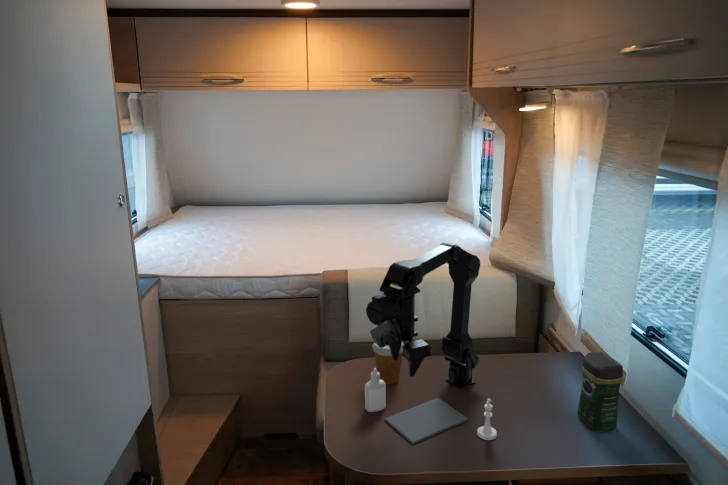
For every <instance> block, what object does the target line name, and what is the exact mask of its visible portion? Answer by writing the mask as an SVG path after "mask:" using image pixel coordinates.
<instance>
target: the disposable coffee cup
mask: <svg viewBox="0 0 728 485" xmlns="http://www.w3.org/2000/svg"><path fill="white" fill-rule="evenodd" d="M404 345H405V343H404V342H402V344H401V348H400V352H399V356H398V359H397V360H396V361H394V360H393V358H392V355H391V352H390V348H389V346H385V347H383V348H380V347H379V346H378V345H377V344H376V343H374V342H373V344H372V347H371V348H372V351H373V352H374V353H373V354H374V359H375V366H376V367H375V368H376V369H377V372H379V373H380V379H381V380H383V381H384V382H385V384H386V385H393V384H396V383H397V382H399V380H400V373H401V368H402V367H401V366H402V361H403V360H402V359H403V354H404V353H403V346H404Z"/></svg>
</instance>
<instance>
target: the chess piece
mask: <svg viewBox="0 0 728 485" xmlns="http://www.w3.org/2000/svg"><path fill="white" fill-rule="evenodd" d="M491 402H492V399H491V398H489V397H488V398H487V401H486V402H485V403H484V409H485V410H484V412H483V416H484V417H485V421H484V424H483V425H482V426H479V427H478V428H477V430H476V434H477V436H478V437H479V438H480V439H482V440H485V441H492V440H495V439H496V438H497V437H498V432H497V430H496V429H495V428H494V427H492V425H491V417H493V413H492V409H493V407H494V406H493V405H492V404H491Z"/></svg>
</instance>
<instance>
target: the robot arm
mask: <svg viewBox="0 0 728 485" xmlns="http://www.w3.org/2000/svg"><path fill="white" fill-rule="evenodd" d="M445 264H447V265H448V275H449V276H450V278H451V280H452V282H453V288H452V289H453V290H452V305H451V315H450V316H451V317H450V331H449V332H448V334H447V335H446V336H444V337H442V341H441V342H442V344H441V345H442V346H441V349H440V350H441V351H442V355H443V356H444V360H445V361H448V362H449V368H448V376H446V377H445V380H446V382H448V383H451V385H453V386H455V387H456V388H458V389H463V388H466V387H467V386H470V385H473V384H475V383H476V380H475V378H473V369H476V366H477V365H478V364H479V360H480V357H479V356H478V355H477V354H476V353H475V351H474V350H473V349H474V347H473V346H474V345H473V343H474V342H473V341H472V338H471V336H470V333H469V324H470V322H469V321H470V310H471V297H472V284H474V282H475V281H476V279H477V278H478V277H479V273H480V268H481V260H480V258H479V257H478V256H477V255H475V254H472V253H471V252H468V251H467V250H465V249H463V248H462V247H461V246H459V245H458V244H457V243H456V244H455V243H451V242H448V241H447V242H446V241H444V242H441V243H440V244H439V245H438V246H436V247H435V248H433V249H431V250H429V251H427V252H424V253H422V254H421V255H419V256H417V257H415V258H413V259H404V260H399V261H396V262H393V263H391V264H390V266H389V268H388V269H387V271H386V274H385V276H384V278H383V281H382V283H381V285H380V287H379V292H381V293H380V294H377V295H373V296H372V297H371V301H369V302H368V303H367V305H366V308H365V313H366V316H367V319H368V320H369V322H371V324H373V325H376V327H374V328H373V329H371V330H370V332H369V333H370V335H371V337H372V340H373V344H374V343H376V344H377V345H378V346H379V347H380V348H383V347H385V346H389V348H390V352H391V355H392V358H393V360H394V361H396V360H397V359H398V356H399V352H400V348H401V344H402V342H403V344H404V346H403V354H402V357H404V358H405V359H406V361H407V366H408V375H409V377H415V375H416V373H417V371H418V370H419V368H420V367H421V364H422V363H423V361H424V359H425V358H427V357H431V355H432V352H433V351H432V346H431V345H430V344H428V343H427V342H426V341H425V340H423V339H422V338H421V339H414V337H415V338H416V337H418V335H419V332H418V331H417V330H416V329H415V328H416V327H415V325H416V324H415V322H418V321H419V317H418V316H417V315H415V306H416V305H415V297H416V296H415V295H416V294H419V293H421V291H422V290H421V289H420V288H419V287H418V286H419V285H420V284H421V283H422V282H423V280H424V277H425V276H426V275H428V274H429V273H431V272H433V271H436V269H438V268H441V267H442V266H443V265H445ZM391 285H392V286H391ZM397 287H399V288H397Z"/></svg>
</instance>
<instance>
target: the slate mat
mask: <svg viewBox="0 0 728 485" xmlns="http://www.w3.org/2000/svg"><path fill="white" fill-rule="evenodd" d="M384 421H385V422H386V423H388V424H389V425H390V426H391V427H392V428H394V430H395V431H397V432H398V433H399V434H400V435H401V436H402V437H404V438H405V439H406V440H407V441H408V442H409V443H411V444H412V445H414V444H418V443H419V442H422V441H424V440H425V439H427V438H430V437H432V436H435V435H437V434H441V433H442V432H444V431H447V430H449V429H451V428H454V427H456V426H458V425H460V424H463V423H465V422H467V421H468V417H467V416H465V415H463V414H462V413H460V412H459V411H458V410H457V409H455V408H454V407H452V406H451V405H449V404H448V403H447V402H444V401H443V399H441V398H439V397H436V398H434V399H430V400H428V401H426V402H423V403H421V404H418V405H415V406H413V407H411V408H409V409H408V408H407V409H405V410H403V411H401V412H397V413H395V414H392V415H390V416H388V417H385V418H384Z"/></svg>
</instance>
